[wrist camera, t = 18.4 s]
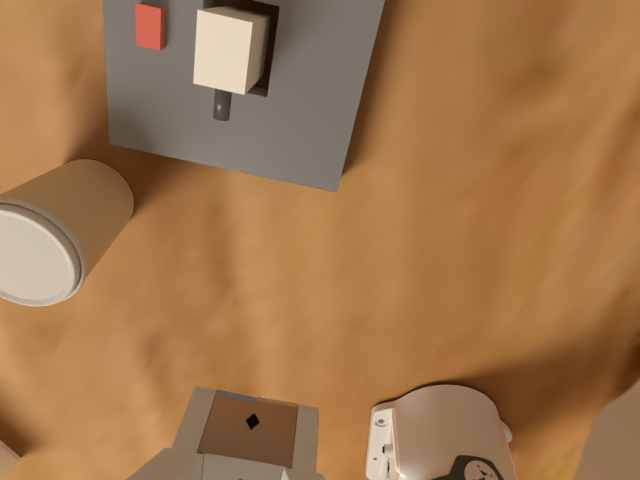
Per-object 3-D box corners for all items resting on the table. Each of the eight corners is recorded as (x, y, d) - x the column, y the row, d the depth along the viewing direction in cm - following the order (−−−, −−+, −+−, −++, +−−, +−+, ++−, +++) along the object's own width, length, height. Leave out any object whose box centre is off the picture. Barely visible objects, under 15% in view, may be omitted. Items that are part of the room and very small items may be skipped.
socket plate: (337, 179, 41) (336, 196, 37) (124, 134, 39) (104, 147, 36) (400, -77, 31) (407, -85, 27) (117, -149, 29) (89, -166, 26)
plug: (259, 103, 37) (240, 129, 30) (219, 94, 37) (191, 118, 30) (271, 16, 34) (252, 22, 27) (227, 5, 34) (197, 9, 27)
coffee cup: (29, 187, 43) (-73, 251, 32) (84, 129, 39) (-9, 179, 29) (105, 251, 46) (35, 327, 36) (162, 203, 43) (103, 271, 32)
